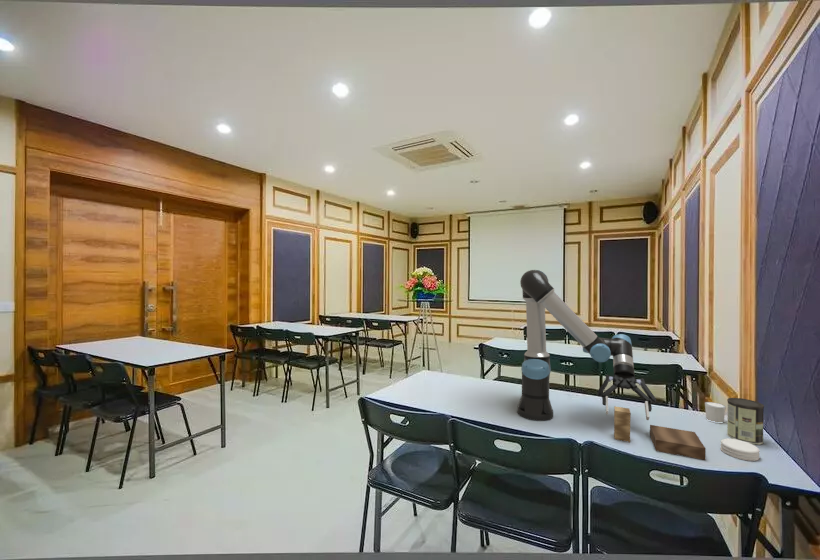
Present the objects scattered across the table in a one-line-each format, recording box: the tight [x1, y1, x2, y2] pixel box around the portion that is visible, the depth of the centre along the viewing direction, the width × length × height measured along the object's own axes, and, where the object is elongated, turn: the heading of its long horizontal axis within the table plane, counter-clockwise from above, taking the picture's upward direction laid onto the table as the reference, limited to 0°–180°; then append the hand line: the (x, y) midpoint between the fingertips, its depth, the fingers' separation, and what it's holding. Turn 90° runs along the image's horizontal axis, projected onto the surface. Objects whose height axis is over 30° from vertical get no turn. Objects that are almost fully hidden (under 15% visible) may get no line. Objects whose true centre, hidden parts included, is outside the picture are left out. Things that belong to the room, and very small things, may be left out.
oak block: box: [613, 405, 632, 443], centre depth 137 cm, size 5×5×11 cm
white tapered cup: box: [704, 401, 727, 422], centre depth 153 cm, size 7×7×7 cm
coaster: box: [720, 438, 761, 462], centre depth 125 cm, size 10×10×4 cm
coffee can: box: [726, 397, 765, 446], centre depth 137 cm, size 10×10×14 cm
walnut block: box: [649, 424, 707, 461], centre depth 130 cm, size 14×14×4 cm
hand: (627, 415), depth 139 cm, fingers open, 13 cm apart
